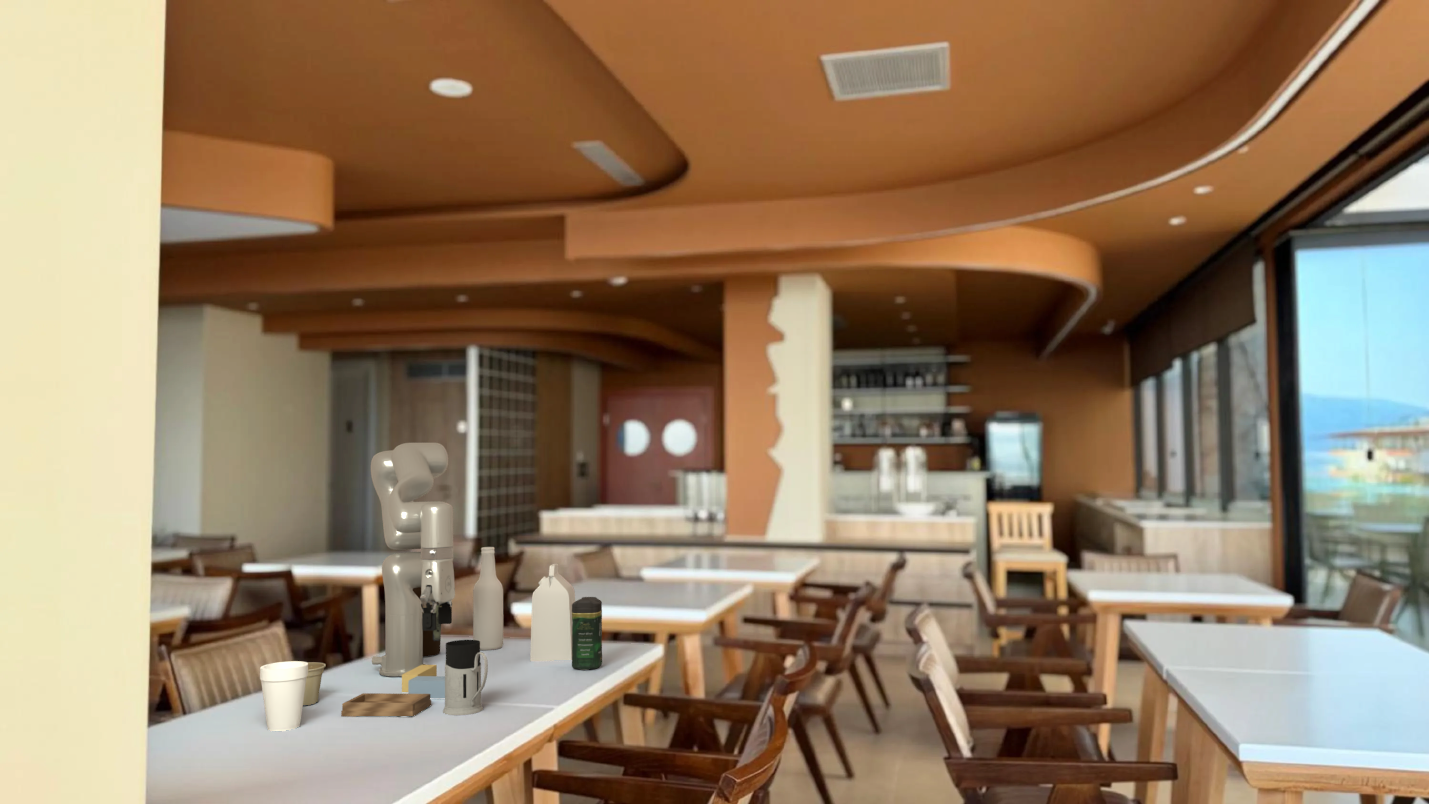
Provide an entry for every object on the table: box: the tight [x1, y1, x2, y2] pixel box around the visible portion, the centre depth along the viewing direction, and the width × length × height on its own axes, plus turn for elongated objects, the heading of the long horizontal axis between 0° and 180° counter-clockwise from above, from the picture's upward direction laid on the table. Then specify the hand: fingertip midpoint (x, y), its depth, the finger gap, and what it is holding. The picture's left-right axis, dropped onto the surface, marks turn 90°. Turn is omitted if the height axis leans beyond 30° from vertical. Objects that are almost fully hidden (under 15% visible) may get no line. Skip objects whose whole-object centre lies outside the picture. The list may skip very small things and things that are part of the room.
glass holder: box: [442, 639, 489, 716], centre depth 224 cm, size 9×14×15 cm, turn 45°
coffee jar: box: [571, 596, 603, 671], centre depth 271 cm, size 10×8×19 cm
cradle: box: [340, 692, 432, 717], centre depth 226 cm, size 16×10×3 cm, turn 83°
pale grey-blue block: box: [407, 675, 445, 698], centre depth 239 cm, size 12×5×4 cm, turn 83°
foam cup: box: [259, 660, 309, 732], centre depth 213 cm, size 10×9×13 cm
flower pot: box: [303, 661, 327, 706], centre depth 235 cm, size 9×9×9 cm
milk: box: [529, 563, 576, 662], centre depth 287 cm, size 12×12×26 cm
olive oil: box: [412, 587, 442, 658], centre depth 294 cm, size 11×11×25 cm
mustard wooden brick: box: [401, 664, 438, 693], centre depth 250 cm, size 4×12×4 cm, turn 174°
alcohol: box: [472, 546, 504, 651], centre depth 303 cm, size 9×9×30 cm
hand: (437, 626), depth 240 cm, fingers open, 9 cm apart
